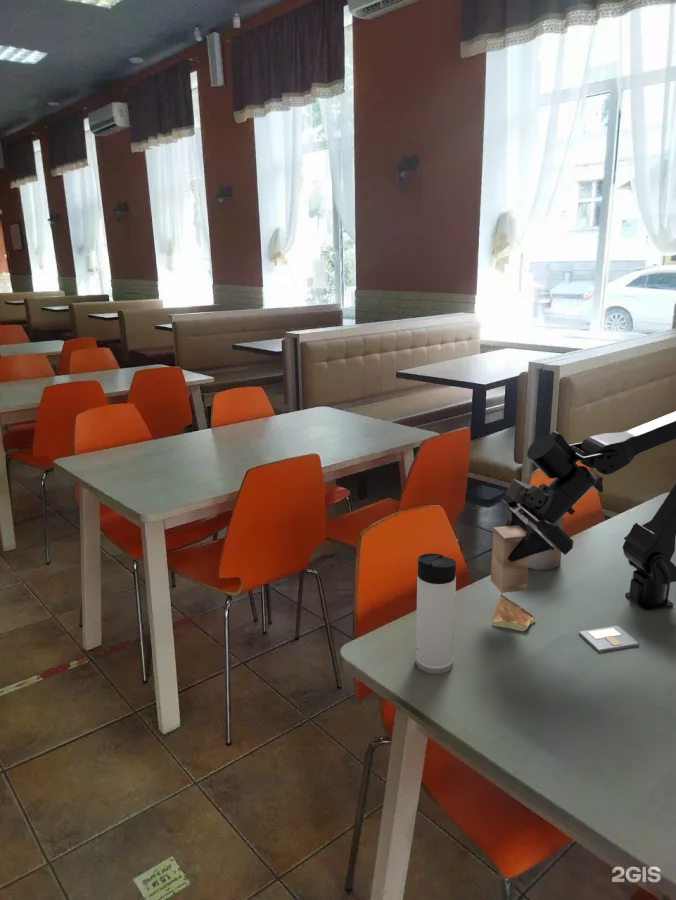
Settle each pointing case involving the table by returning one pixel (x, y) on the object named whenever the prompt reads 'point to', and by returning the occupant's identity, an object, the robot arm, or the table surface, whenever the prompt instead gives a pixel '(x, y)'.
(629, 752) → the table surface
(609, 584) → the table surface
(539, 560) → the pillar candle
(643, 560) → the robot arm
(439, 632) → the travel mug
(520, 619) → the shard
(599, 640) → the card
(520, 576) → the walnut block
